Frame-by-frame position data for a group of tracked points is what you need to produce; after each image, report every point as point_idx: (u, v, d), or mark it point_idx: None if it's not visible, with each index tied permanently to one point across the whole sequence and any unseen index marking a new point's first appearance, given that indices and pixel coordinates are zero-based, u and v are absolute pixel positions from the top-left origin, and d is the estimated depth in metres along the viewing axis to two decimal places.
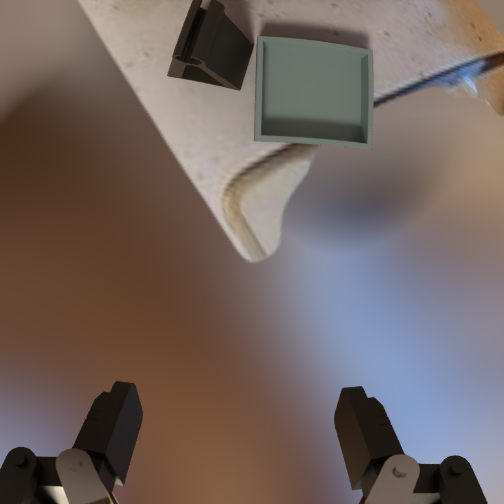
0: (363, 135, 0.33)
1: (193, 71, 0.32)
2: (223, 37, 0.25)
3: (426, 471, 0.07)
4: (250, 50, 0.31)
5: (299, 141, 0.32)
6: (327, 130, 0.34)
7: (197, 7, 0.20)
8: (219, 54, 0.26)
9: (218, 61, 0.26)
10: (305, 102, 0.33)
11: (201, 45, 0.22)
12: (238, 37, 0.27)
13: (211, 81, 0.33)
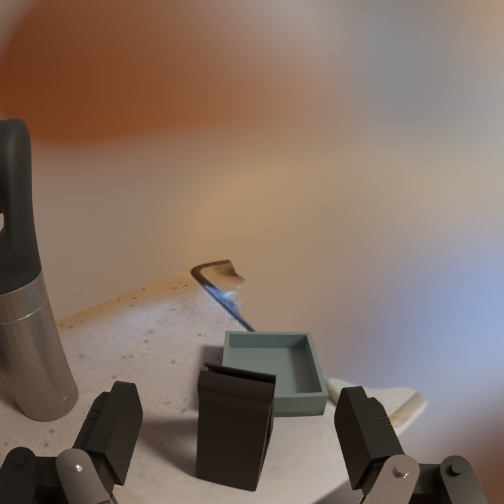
0: (298, 341, 0.45)
1: None
2: None
3: (426, 471, 0.07)
4: None
5: (319, 369, 0.37)
6: (300, 365, 0.41)
7: (213, 373, 0.24)
8: None
9: None
10: (279, 379, 0.38)
11: None
12: None
13: (263, 449, 0.28)
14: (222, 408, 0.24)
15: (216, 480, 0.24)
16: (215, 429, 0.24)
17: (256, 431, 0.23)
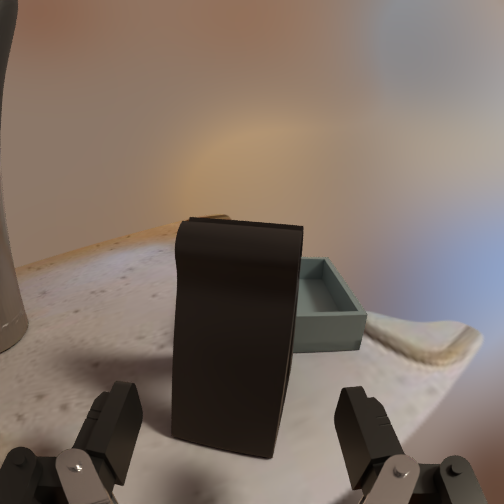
0: (315, 269, 0.36)
1: None
2: None
3: (426, 471, 0.07)
4: None
5: (348, 288, 0.28)
6: (320, 295, 0.33)
7: (201, 223, 0.15)
8: None
9: None
10: None
11: None
12: None
13: None
14: (215, 289, 0.15)
15: (205, 441, 0.15)
16: (203, 336, 0.15)
17: (274, 333, 0.15)
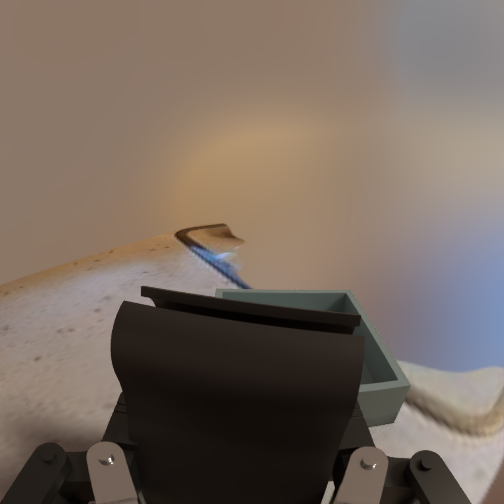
0: (333, 305, 0.28)
1: None
2: None
3: (397, 465, 0.07)
4: None
5: (382, 341, 0.20)
6: None
7: (158, 310, 0.07)
8: None
9: None
10: None
11: None
12: None
13: None
14: (190, 426, 0.07)
15: None
16: (177, 482, 0.07)
17: (296, 492, 0.07)
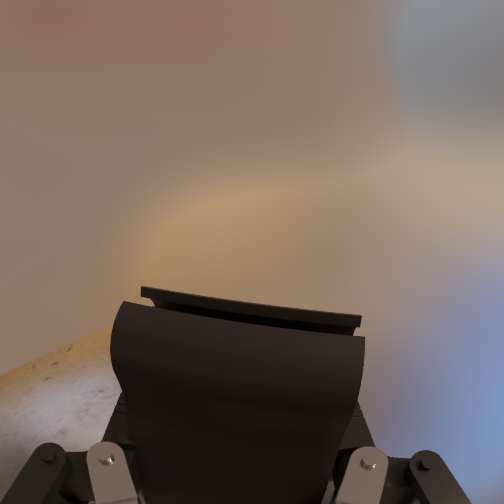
0: None
1: None
2: None
3: (397, 465, 0.07)
4: None
5: None
6: None
7: (158, 311, 0.07)
8: None
9: None
10: None
11: None
12: None
13: None
14: (190, 426, 0.07)
15: None
16: (176, 483, 0.07)
17: (296, 493, 0.07)
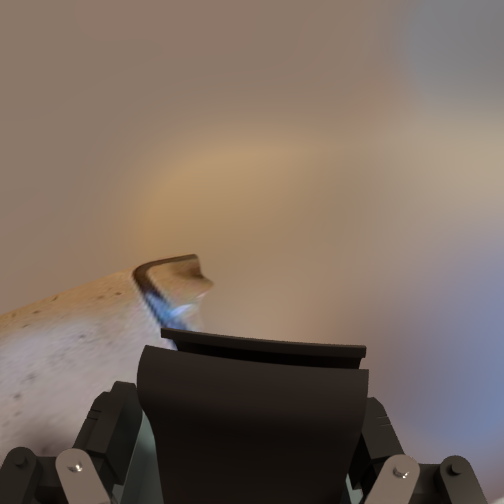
0: None
1: None
2: None
3: (426, 471, 0.07)
4: None
5: None
6: None
7: (178, 353, 0.08)
8: None
9: None
10: None
11: None
12: None
13: None
14: (214, 452, 0.08)
15: None
16: (203, 501, 0.08)
17: None
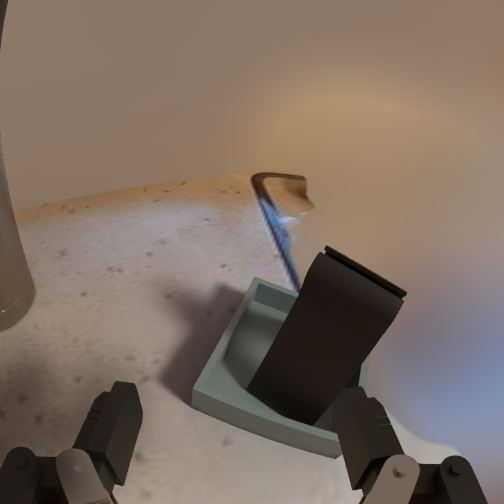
0: None
1: None
2: None
3: (426, 471, 0.07)
4: None
5: None
6: None
7: (334, 261, 0.18)
8: None
9: None
10: None
11: (389, 282, 0.18)
12: None
13: None
14: (325, 311, 0.19)
15: (269, 402, 0.22)
16: (302, 337, 0.20)
17: (352, 357, 0.19)
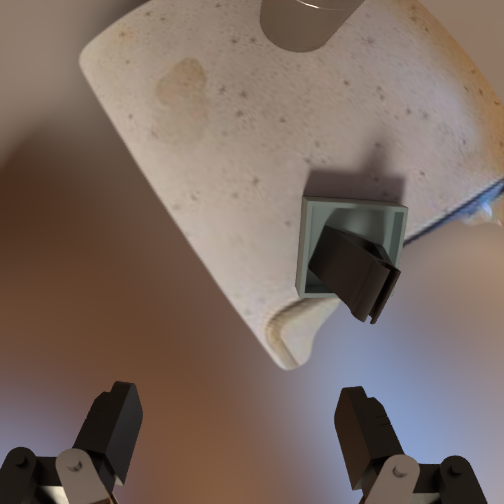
0: None
1: None
2: None
3: (426, 471, 0.07)
4: None
5: (335, 296, 0.40)
6: None
7: (384, 280, 0.28)
8: None
9: None
10: None
11: (379, 313, 0.30)
12: None
13: None
14: (362, 274, 0.31)
15: (319, 241, 0.39)
16: (351, 260, 0.33)
17: (341, 291, 0.34)
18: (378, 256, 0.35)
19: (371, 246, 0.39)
